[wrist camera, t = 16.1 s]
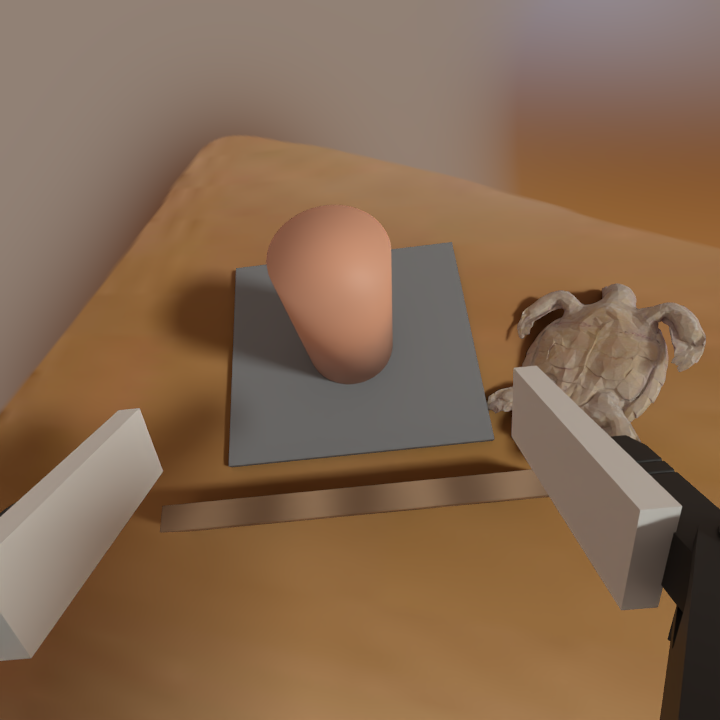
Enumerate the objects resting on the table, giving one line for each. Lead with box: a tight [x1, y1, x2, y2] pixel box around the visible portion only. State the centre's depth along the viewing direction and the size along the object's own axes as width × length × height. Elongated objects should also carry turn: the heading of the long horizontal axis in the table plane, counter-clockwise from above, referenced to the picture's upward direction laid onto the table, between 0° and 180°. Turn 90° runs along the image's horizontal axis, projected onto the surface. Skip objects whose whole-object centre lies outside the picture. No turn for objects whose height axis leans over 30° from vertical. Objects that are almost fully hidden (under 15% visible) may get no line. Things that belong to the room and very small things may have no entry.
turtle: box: [487, 284, 706, 442], centre depth 29 cm, size 16×10×10 cm, turn 171°
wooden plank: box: [160, 470, 549, 532], centre depth 27 cm, size 26×2×4 cm, turn 95°
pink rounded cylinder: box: [266, 205, 393, 384], centre depth 28 cm, size 7×7×12 cm
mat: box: [229, 242, 494, 467], centre depth 34 cm, size 20×18×1 cm
